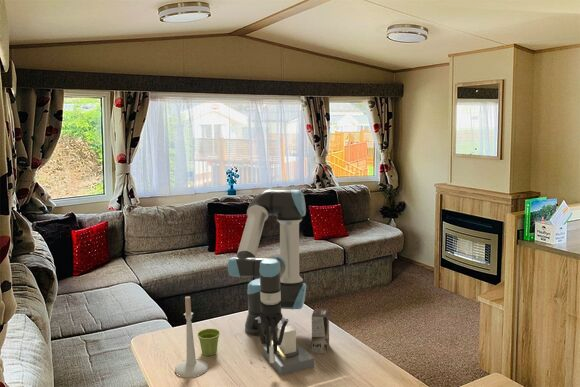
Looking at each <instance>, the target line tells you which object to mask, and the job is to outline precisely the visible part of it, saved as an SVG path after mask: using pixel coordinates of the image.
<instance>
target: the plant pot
mask: <svg viewBox="0 0 580 387" xmlns="http://www.w3.org/2000/svg"><path fill="white" fill-rule="evenodd" d="M220 334H221V331H220V330H219V329H216V328H205V329H201V330H200V331H198V332H197V335H196V336H197V337H198V340H199V343H200V350H201V354H202V356H204V357H210V356H214V355H217V353H218V343H219V337H220Z"/></svg>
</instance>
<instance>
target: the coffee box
mask: <svg viewBox="0 0 580 387" xmlns="http://www.w3.org/2000/svg"><path fill="white" fill-rule="evenodd" d="M329 312H330V309H329V308H314V309H313V312H312V314H311V352H312V353H318V354H327V353H328V350H329V346H330V313H329Z"/></svg>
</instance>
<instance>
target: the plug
mask: <svg viewBox="0 0 580 387" xmlns="http://www.w3.org/2000/svg"><path fill="white" fill-rule="evenodd" d="M281 327H282V326H281ZM281 327H278V336H279V335H280V331H281ZM296 342H297V330H296V329H295V327H293V325H291V324H289V325H286V327H285V331H284V335H283V340H282V343H281V345H279V349H280V350H281V351H282V352H283V353H284V355H285V356H286V358H290V357H294V356H296V355H297V354H298V348H297V347H296ZM277 354H278V352H277ZM278 355H279V354H278ZM279 356H280V355H279Z"/></svg>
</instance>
